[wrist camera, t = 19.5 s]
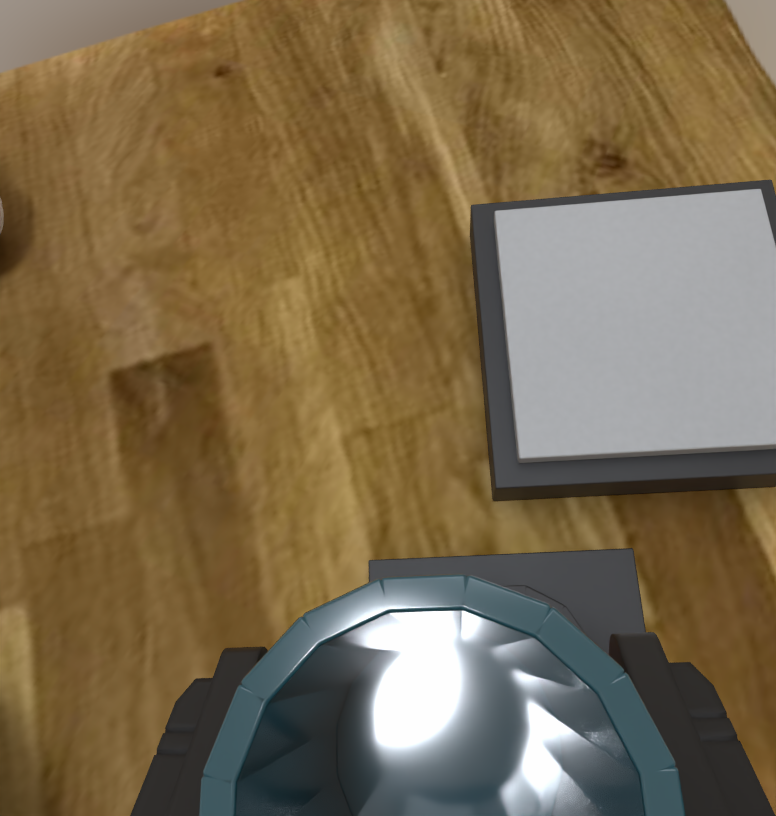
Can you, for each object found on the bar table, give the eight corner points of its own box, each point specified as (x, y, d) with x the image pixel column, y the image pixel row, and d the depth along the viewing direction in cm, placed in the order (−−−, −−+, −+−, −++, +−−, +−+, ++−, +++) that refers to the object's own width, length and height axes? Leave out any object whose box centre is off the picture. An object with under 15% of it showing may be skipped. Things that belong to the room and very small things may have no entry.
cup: (562, 606, 17) (647, 564, 10) (595, 894, 15) (739, 1152, 7) (321, 615, 18) (209, 583, 10) (321, 896, 16) (179, 1138, 8)
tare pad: (626, 552, 30) (644, 541, 27) (661, 788, 27) (686, 804, 24) (371, 563, 30) (363, 554, 28) (377, 794, 27) (368, 810, 25)
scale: (750, 211, 35) (779, 167, 32) (819, 484, 30) (861, 464, 27) (469, 234, 36) (471, 194, 33) (492, 501, 31) (496, 484, 28)
